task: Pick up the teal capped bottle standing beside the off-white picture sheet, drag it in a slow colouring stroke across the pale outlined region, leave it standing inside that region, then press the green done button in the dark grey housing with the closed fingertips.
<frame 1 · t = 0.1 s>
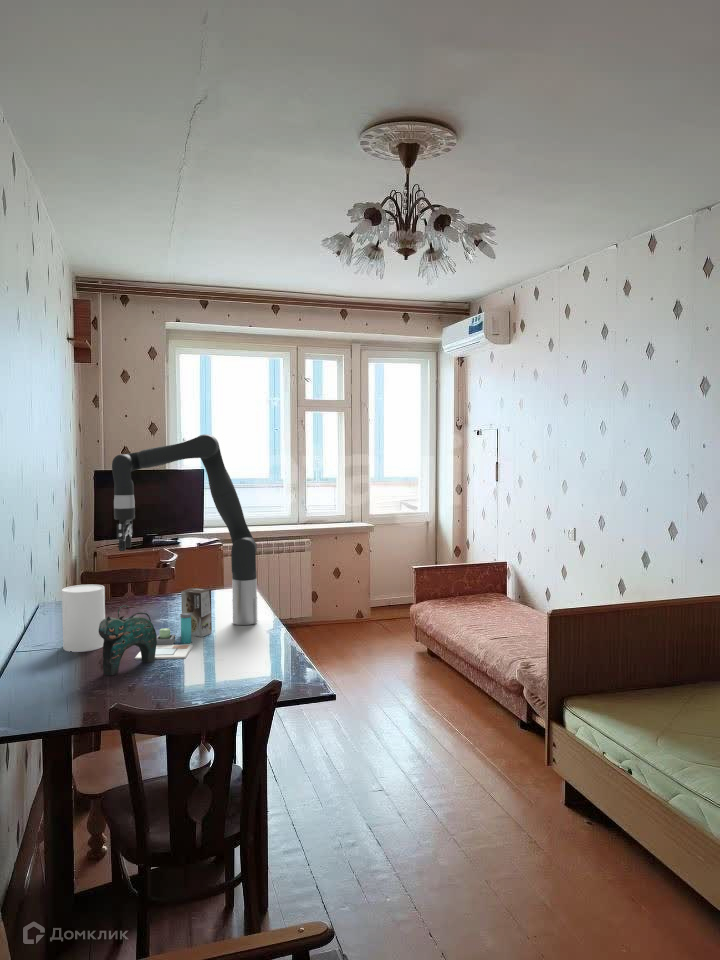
hand: (125, 549, 269), 29 cm above the table, fingers open, 8 cm apart
canister: (84, 646, 243), on the table
teal capped bottle: (186, 642, 247), on the table
sheet: (164, 652, 235), on the table
done button: (164, 633, 245), point 4 cm above the table, slide at 0.0 cm
ceramic cat: (128, 668, 219), on the table
button housing: (164, 643, 245), on the table
coffee box: (197, 634, 258), on the table
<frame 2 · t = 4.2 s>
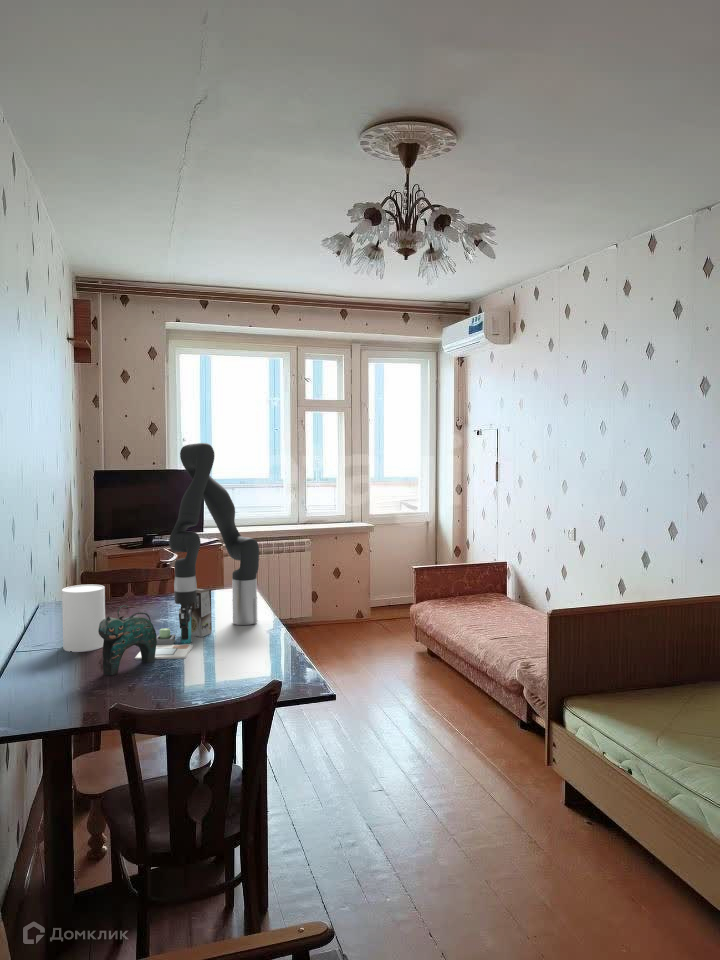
hand: (186, 637, 247), 2 cm above the table, fingers closed on teal capped bottle, 3 cm apart
teal capped bottle: (186, 642, 247), on the table, touching gripper
everything else where it was.
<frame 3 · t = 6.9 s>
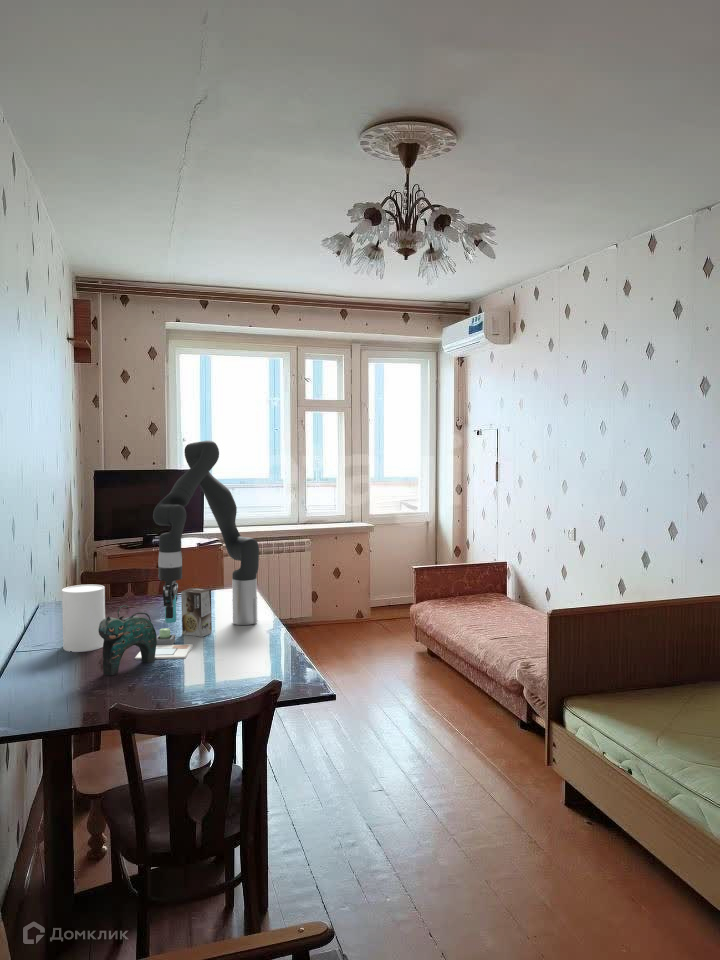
hand: (170, 616, 233), 12 cm above the table, fingers closed on teal capped bottle, 3 cm apart
teal capped bottle: (170, 621, 233), point 11 cm above the table, touching gripper
everything else where it was.
when the fingers open (3 cm above the table, at t = 9.8 s): teal capped bottle stays where it is, resting on sheet.
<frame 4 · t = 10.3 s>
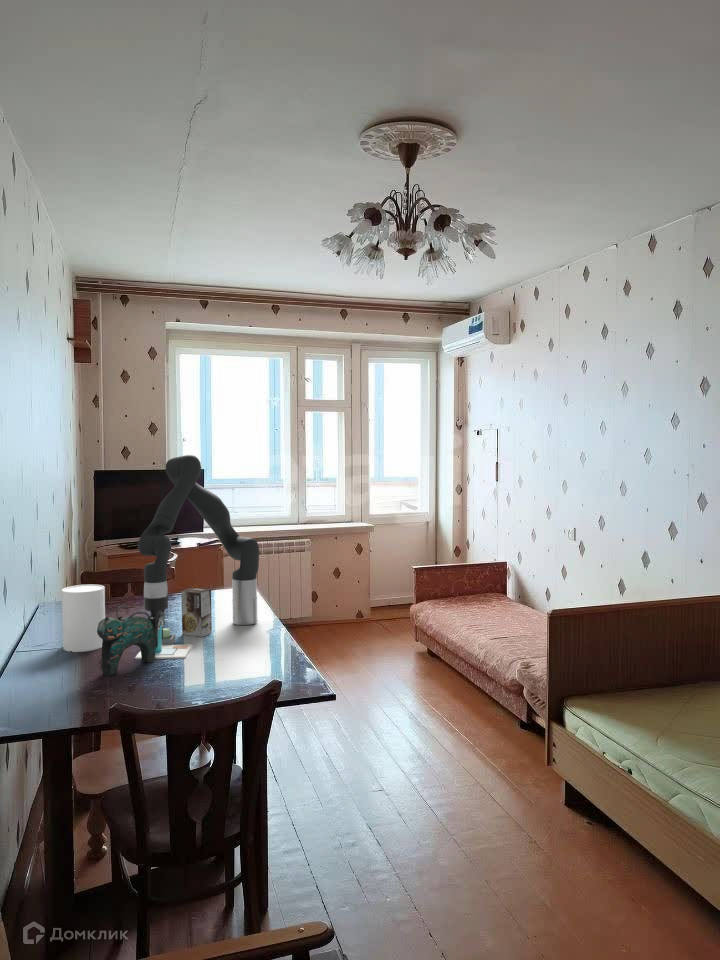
hand: (156, 643, 234), 3 cm above the table, fingers open, 8 cm apart
teal capped bottle: (156, 651, 234), point 1 cm above the table, touching sheet
ceramic cat: (127, 668, 219), on the table, touching hand
everything else where it was.
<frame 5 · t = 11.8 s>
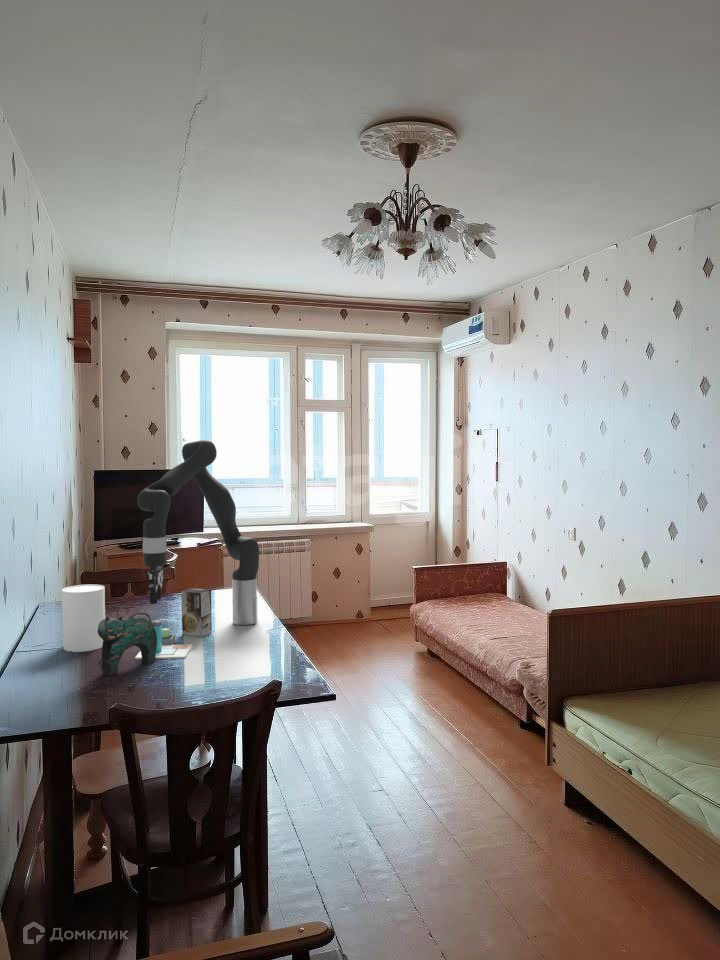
hand: (155, 601, 233), 17 cm above the table, fingers open, 5 cm apart
ceramic cat: (128, 668, 219), on the table
everything else where it was.
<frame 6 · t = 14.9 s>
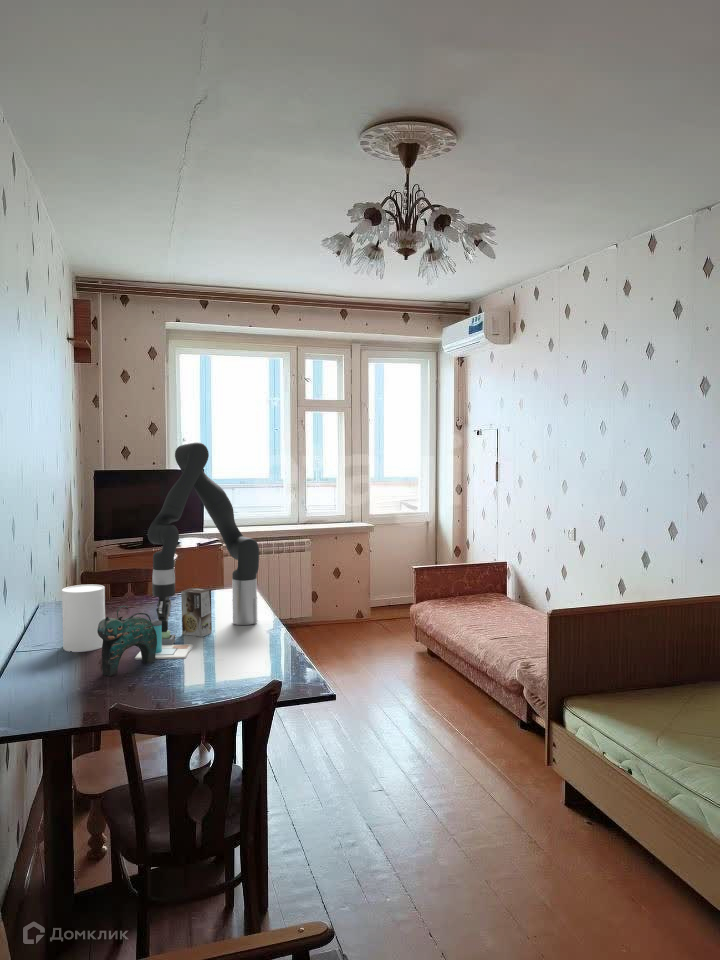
hand: (164, 631, 245), 4 cm above the table, fingers closed
done button: (164, 635, 245), point 3 cm above the table, slide at 0.6 cm, touching gripper
everything else where it was.
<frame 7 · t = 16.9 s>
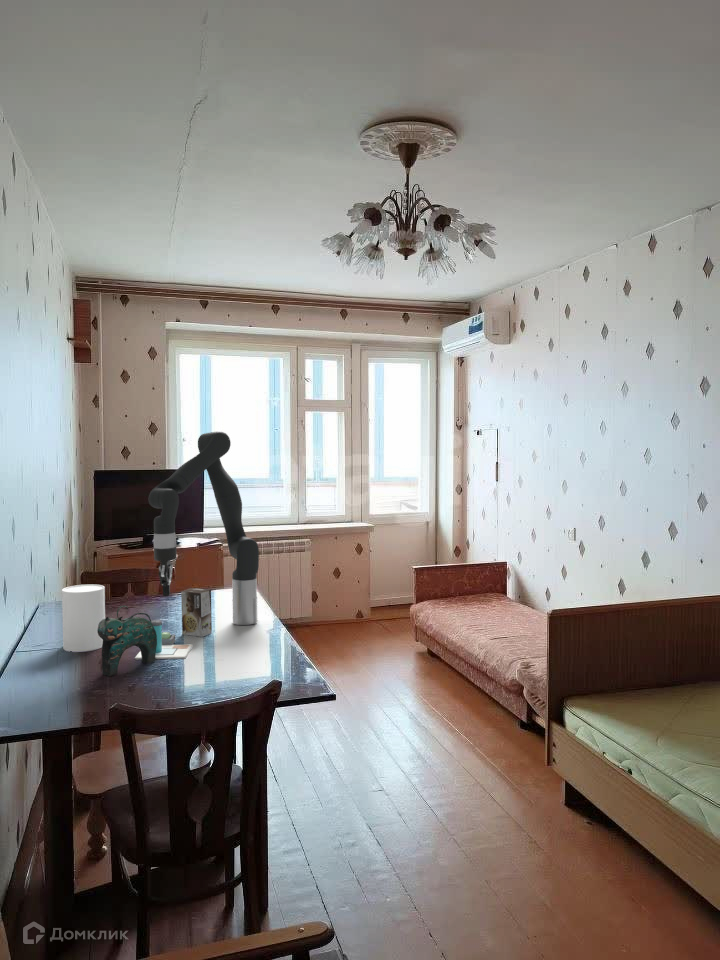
hand: (166, 595, 246), 17 cm above the table, fingers closed
done button: (164, 637, 245), point 2 cm above the table, slide at 1.4 cm
everything else where it was.
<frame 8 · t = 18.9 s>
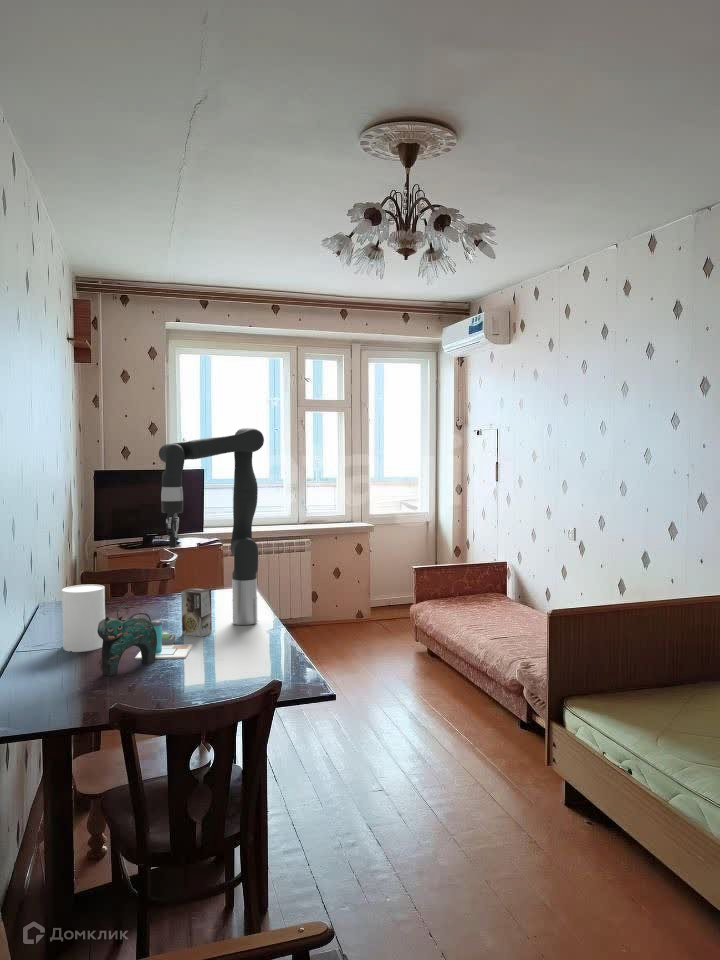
hand: (172, 547, 255), 32 cm above the table, fingers closed
nothing on the table moved.
at the end: done button slide at 1.4 cm; teal capped bottle inside the target area on the sheet (2.6 cm from its centre), point 0.7 cm above the sheet's base; teal capped bottle tilted 0° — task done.
